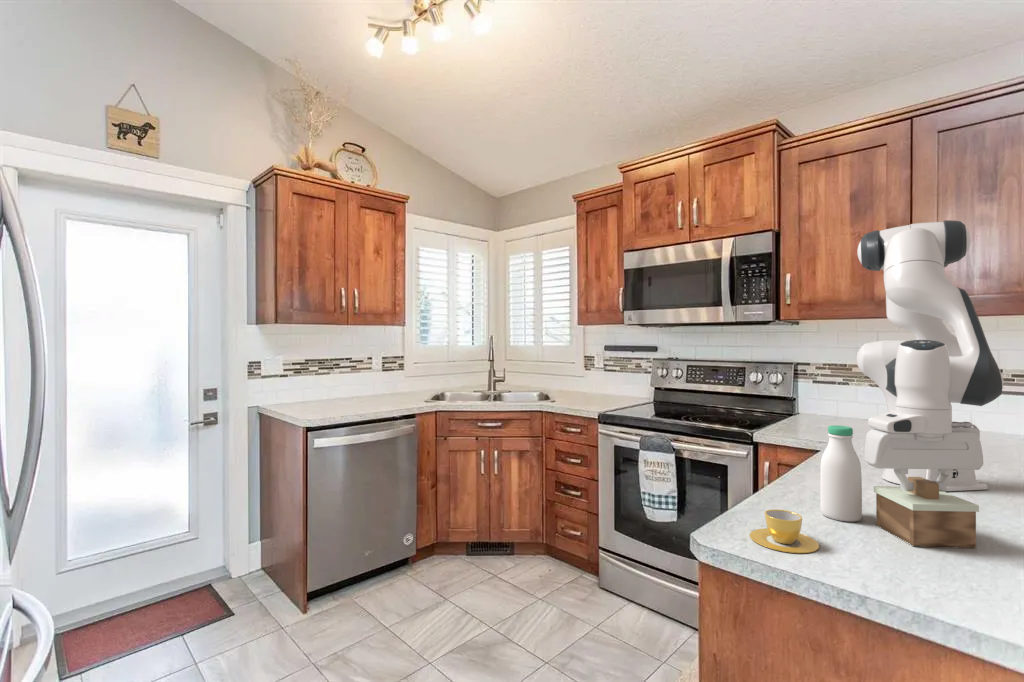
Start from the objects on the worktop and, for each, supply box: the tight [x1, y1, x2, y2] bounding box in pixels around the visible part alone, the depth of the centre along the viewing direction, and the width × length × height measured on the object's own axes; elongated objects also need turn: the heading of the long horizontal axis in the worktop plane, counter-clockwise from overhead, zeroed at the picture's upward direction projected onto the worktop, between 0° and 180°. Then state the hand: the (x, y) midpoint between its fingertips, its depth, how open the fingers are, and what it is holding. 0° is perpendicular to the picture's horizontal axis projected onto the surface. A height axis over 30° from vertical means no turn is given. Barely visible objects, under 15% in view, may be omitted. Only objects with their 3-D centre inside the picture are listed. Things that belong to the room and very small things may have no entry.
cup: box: [749, 508, 820, 554], centre depth 98 cm, size 12×12×5 cm
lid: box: [873, 477, 980, 513], centre depth 100 cm, size 12×12×4 cm
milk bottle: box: [819, 425, 863, 523], centre depth 111 cm, size 8×8×20 cm
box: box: [875, 493, 977, 549], centre depth 100 cm, size 11×11×7 cm
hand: (923, 490), depth 100 cm, fingers open, 5 cm apart
